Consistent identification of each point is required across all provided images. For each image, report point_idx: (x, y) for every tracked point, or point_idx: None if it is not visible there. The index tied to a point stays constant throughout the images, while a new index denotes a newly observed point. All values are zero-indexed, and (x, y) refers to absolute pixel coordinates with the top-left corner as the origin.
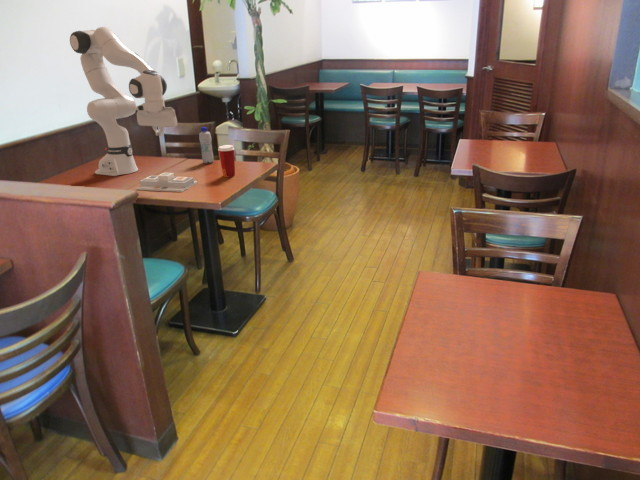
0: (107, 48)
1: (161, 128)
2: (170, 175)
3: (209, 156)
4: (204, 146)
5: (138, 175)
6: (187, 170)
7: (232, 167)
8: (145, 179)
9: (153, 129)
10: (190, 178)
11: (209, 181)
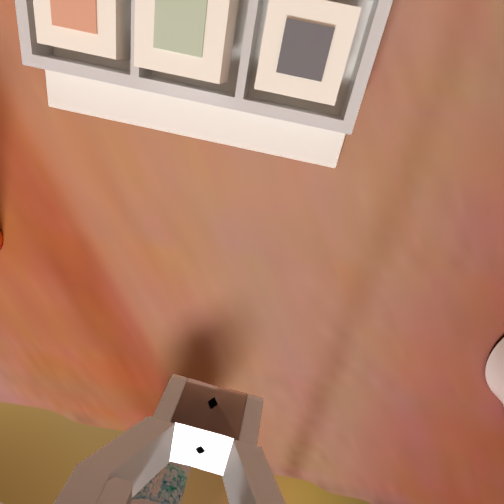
0: None
1: (75, 473)
2: (137, 2)
3: None
4: (151, 487)
5: (465, 285)
6: (223, 336)
7: None
8: (354, 7)
9: (281, 498)
10: (40, 55)
11: (9, 132)
